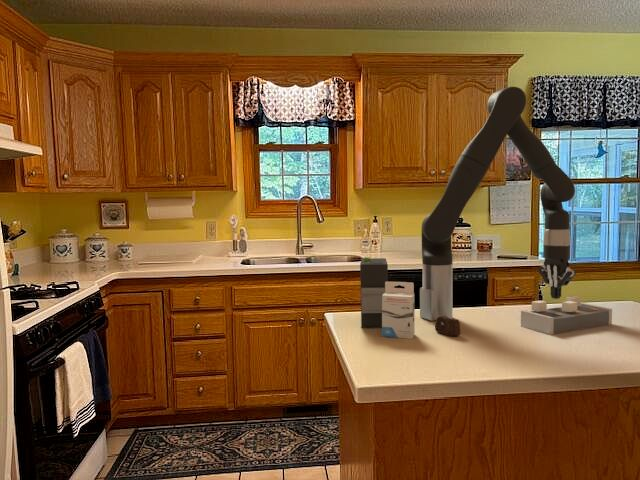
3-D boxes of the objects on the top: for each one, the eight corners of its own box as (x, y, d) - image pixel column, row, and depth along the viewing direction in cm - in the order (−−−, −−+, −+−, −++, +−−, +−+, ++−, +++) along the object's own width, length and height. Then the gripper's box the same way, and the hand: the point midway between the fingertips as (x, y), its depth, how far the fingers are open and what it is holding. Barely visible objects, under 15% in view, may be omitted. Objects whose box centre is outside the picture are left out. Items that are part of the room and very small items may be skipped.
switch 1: (538, 311, 142) (538, 303, 141) (531, 309, 144) (531, 301, 144) (546, 310, 143) (546, 302, 143) (539, 308, 145) (539, 300, 145)
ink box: (381, 337, 135) (380, 284, 134) (384, 332, 140) (384, 281, 139) (412, 339, 132) (412, 285, 131) (415, 334, 137) (414, 282, 136)
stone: (434, 332, 139) (433, 314, 139) (441, 330, 141) (441, 313, 140) (455, 338, 133) (455, 320, 132) (462, 336, 134) (462, 318, 134)
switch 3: (569, 312, 140) (569, 303, 140) (561, 310, 143) (562, 301, 142) (577, 310, 142) (577, 302, 141) (569, 309, 144) (569, 300, 144)
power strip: (550, 334, 134) (550, 318, 133) (520, 326, 143) (521, 310, 143) (611, 324, 143) (612, 308, 143) (580, 316, 153) (580, 302, 152)
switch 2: (573, 306, 147) (573, 298, 147) (566, 305, 149) (566, 297, 149) (580, 305, 148) (580, 297, 148) (573, 304, 151) (573, 296, 150)
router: (386, 314, 161) (385, 254, 160) (388, 329, 143) (387, 261, 142) (361, 314, 162) (361, 254, 160) (361, 329, 144) (360, 261, 142)
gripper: (530, 242, 158) (530, 296, 159) (566, 245, 146) (565, 303, 147) (548, 241, 161) (547, 293, 162) (583, 244, 149) (582, 300, 150)
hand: (555, 298), depth 155 cm, fingers closed
